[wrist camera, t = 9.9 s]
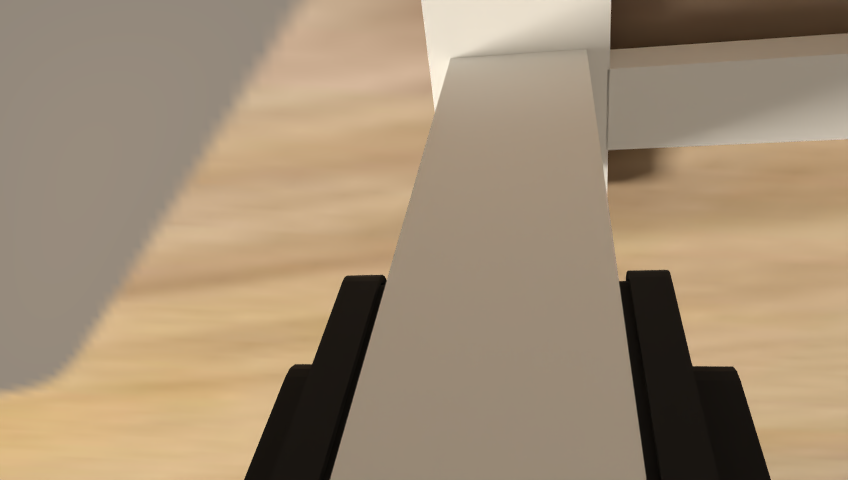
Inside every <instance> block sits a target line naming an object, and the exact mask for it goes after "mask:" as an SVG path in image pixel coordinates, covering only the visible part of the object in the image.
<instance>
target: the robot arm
mask: <svg viewBox="0 0 848 480" xmlns="http://www.w3.org/2000/svg"><path fill="white" fill-rule="evenodd" d="M386 282H387V280H386V278H385V276H383V275H356V276H346V277H345V278H344V280H343V282H342V285H341V287H340V290H339V293H338V295H337V298H336V301H335V304H334V306H333V309H332V312H331V315H330V317H329V320H328V323H327V326H326V328H325V331H324V334H323V336H322V339H321V342H320V345H319V347H318V350H317V353H316V356H315V358H314V361H313V364H295V365H293V366H292V367H291V368H290V369H289V371H288V373H287V375H286V377H285V379H284V382H283V384H282V387H281V389H280V392H279V394H278V397H277V399H276V402H275V404H274V407H273V409H272V412H271V414H270V417H269V419H268V422H267V424H266V427H265V429H264V432H263V434H262V437H261V439H260V442H259V444H258V447H257V449H256V452H255V454H254V457H253V459H252V462H251V464H250V466H249V469H248V471H247V474H246V476H245V479H244V480H330V478H331V474H332V471H333V467H334V464H335V460H336V457H337V453H338V450H339V446H340V443H341V439H342V436H343V432H344V429H345V425H346V422H347V418H348V415H349V411H350V408H351V404H352V401H353V397H354V394H355V390H356V387H357V383H358V380H359V376H360V373H361V369H362V366H363V362H364V359H365V355H366V352H367V348H368V345H369V341H370V338H371V334H372V331H373V327H374V324H375V320H376V317H377V313H378V310H379V306H380V303H381V299H382V296H383V292H384V289H385V285H386ZM619 286H620V293H621V300H622V307H623V315H624V322H625V329H626V336H627V343H628V351H629V358H630V365H631V372H632V379H633V387H634V394H635V401H636V408H637V415H638V423H639V430H640V437H641V444H642V451H643V459H644V466H645V473H646V480H771V479H770V475H769V472H768V469H767V466H766V462H765V459H764V456H763V453H762V449H761V446H760V443H759V439H758V436H757V433H756V430H755V426H754V423H753V420H752V417H751V413H750V410H749V407H748V404H747V400H746V397H745V394H744V391H743V387H742V384H741V381H740V378H739V376H738V373H737V371H736V370H735V368H734V367H707V366H692V363H691V359H690V354H689V350H688V346H687V342H686V338H685V333H684V329H683V325H682V321H681V317H680V312H679V308H678V304H677V300H676V295H675V291H674V287H673V283H672V279H671V275H670V272H669V271H668V270H645V271H627V274H626V281H619Z"/></svg>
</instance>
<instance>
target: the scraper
mask: <svg viewBox="0 0 848 480" xmlns="http://www.w3.org/2000/svg"><path fill="white" fill-rule="evenodd" d="M421 2H422V10H423V18H424V26H425V35H426V43H427V51H428V59H429V68H430V76H431V84H432V92H433V100H434V109H435V114H434V117H433V121H432V124H431V128H430V131H429V135H428V138H427V142H426V145H425V149H424V152H423V156H422V159H421V163H420V166H419V170H418V173H417V177H416V180H415V184H414V187H413V191H412V194H411V198H410V201H409V205H408V208H407V212H406V215H405V219H404V222H403V226H402V229H401V233H400V236H399V240H398V243H397V247H396V250H395V254H394V257H393V261H392V264H391V268H390V271H389V275H388V278H387V282H386V285H385V289H384V292H383V296H382V299H381V303H380V306H379V310H378V313H377V317H376V320H375V324H374V327H373V331H372V334H371V338H370V341H369V345H368V348H367V352H366V355H365V359H364V362H363V366H362V369H361V373H360V376H359V380H358V383H357V387H356V390H355V394H354V397H353V401H352V404H351V408H350V411H349V415H348V418H347V422H346V425H345V429H344V432H343V436H342V439H341V443H340V446H339V450H338V453H337V457H336V460H335V464H334V467H333V471H332V474H331V478H330V480H646V473H645V466H644V459H643V451H642V444H641V437H640V430H639V423H638V415H637V408H636V401H635V394H634V387H633V379H632V372H631V365H630V358H629V351H628V343H627V336H626V329H625V322H624V315H623V307H622V300H621V293H620V286H619V279H618V271H617V264H616V257H615V250H614V243H613V236H612V228H611V221H610V214H609V207H608V200H607V176H608V150H621V149H643V148H665V147H687V146H708V145H730V144H752V143H774V142H796V141H818V140H840V139H848V33H844V34H830V35H815V36H801V37H786V38H772V39H758V40H743V41H729V42H714V43H700V44H686V45H671V46H657V47H642V48H628V49H614V50H610V29H611V0H421Z"/></svg>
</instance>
